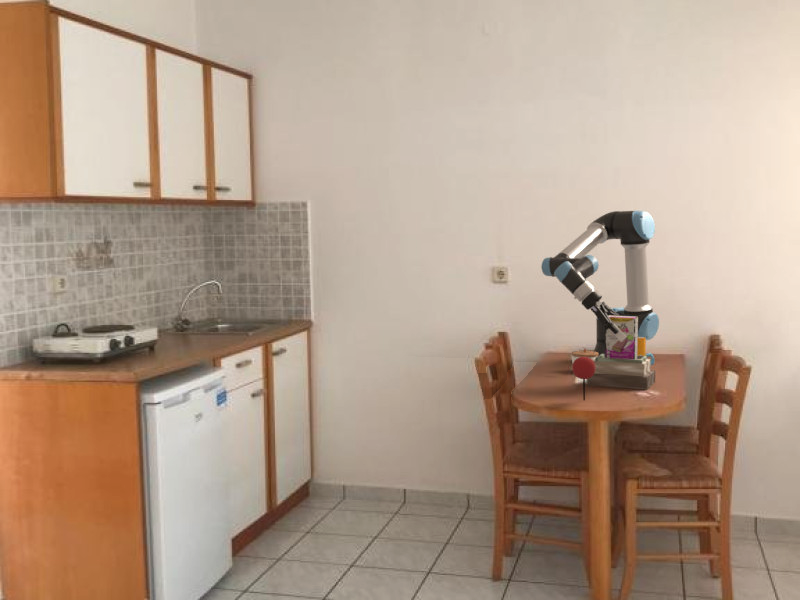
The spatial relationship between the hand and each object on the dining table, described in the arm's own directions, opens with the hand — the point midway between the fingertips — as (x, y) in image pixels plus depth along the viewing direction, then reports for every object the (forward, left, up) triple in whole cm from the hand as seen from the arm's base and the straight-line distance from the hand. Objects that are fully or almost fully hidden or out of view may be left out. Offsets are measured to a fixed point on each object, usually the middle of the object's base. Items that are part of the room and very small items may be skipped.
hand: (627, 337), depth 341 cm
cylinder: (-19, -8, -18) cm, 27 cm away
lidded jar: (-11, -29, -18) cm, 36 cm away
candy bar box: (+1, -2, -9) cm, 9 cm away
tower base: (+1, -2, -18) cm, 18 cm away
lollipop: (+35, +8, -18) cm, 40 cm away
